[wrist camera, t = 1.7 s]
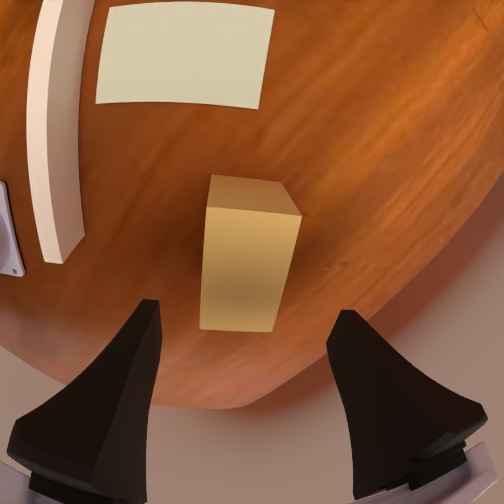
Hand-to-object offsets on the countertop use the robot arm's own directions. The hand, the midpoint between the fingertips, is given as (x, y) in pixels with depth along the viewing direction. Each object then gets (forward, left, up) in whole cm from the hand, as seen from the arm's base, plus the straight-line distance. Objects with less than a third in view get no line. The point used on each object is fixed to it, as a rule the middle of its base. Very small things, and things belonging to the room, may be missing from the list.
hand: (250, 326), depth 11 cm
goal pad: (-5, +10, -8) cm, 14 cm away
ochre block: (0, 0, -8) cm, 8 cm away
